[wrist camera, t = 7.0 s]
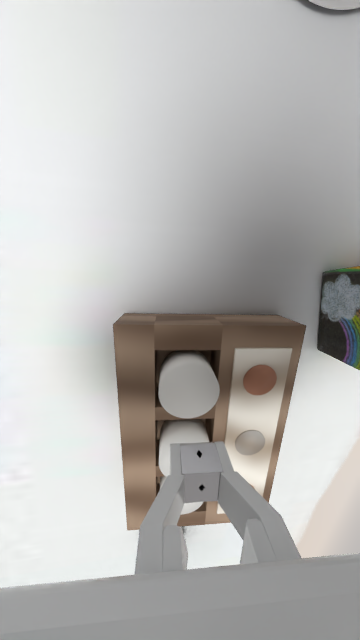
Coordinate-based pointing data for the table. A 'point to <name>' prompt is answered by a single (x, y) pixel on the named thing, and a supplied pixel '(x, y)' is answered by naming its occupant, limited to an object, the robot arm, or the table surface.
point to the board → (230, 409)
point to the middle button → (179, 438)
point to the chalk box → (341, 315)
